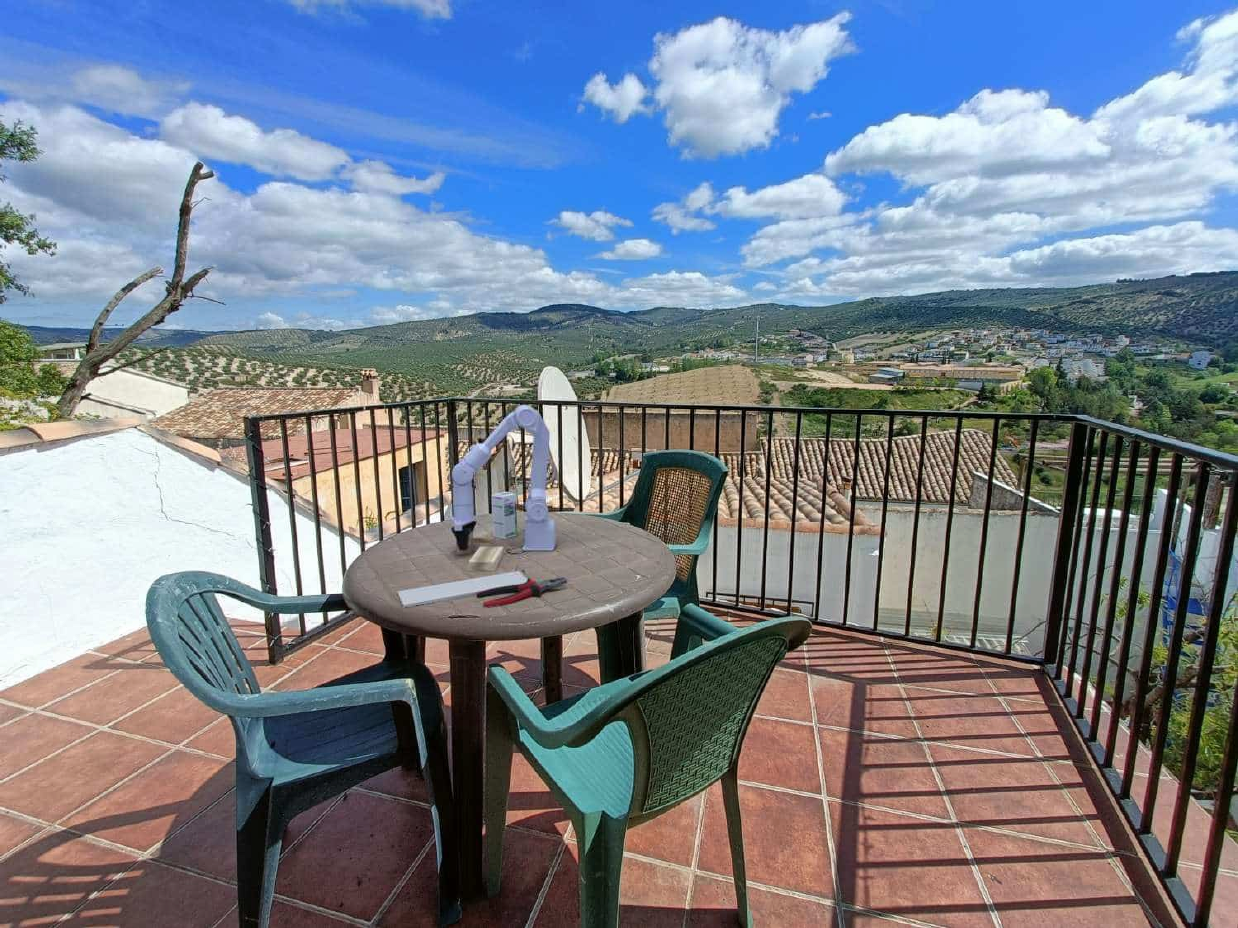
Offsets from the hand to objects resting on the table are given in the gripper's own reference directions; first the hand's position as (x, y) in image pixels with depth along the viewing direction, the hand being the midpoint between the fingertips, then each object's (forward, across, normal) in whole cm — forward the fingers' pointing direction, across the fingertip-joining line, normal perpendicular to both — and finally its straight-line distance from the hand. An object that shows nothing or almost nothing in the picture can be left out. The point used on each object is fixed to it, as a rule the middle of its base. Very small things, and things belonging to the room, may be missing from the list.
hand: (465, 547), depth 173 cm
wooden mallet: (+1, 0, +4) cm, 4 cm away
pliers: (+2, +33, +23) cm, 40 cm away
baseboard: (+2, +29, +7) cm, 30 cm away
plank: (+1, +10, +8) cm, 13 cm away
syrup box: (+2, -17, +9) cm, 19 cm away
